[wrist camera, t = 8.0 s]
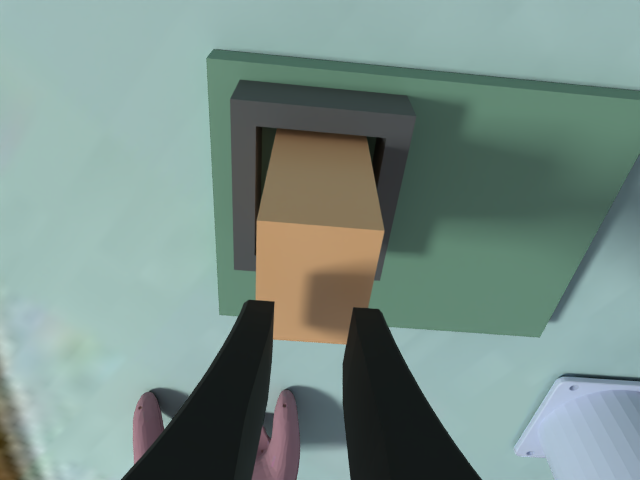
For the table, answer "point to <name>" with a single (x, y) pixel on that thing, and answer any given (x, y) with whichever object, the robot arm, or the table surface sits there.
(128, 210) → the table surface
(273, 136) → the board
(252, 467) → the robot arm
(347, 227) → the plug
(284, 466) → the video game controller
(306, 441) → the table surface
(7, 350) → the table surface
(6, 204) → the table surface
